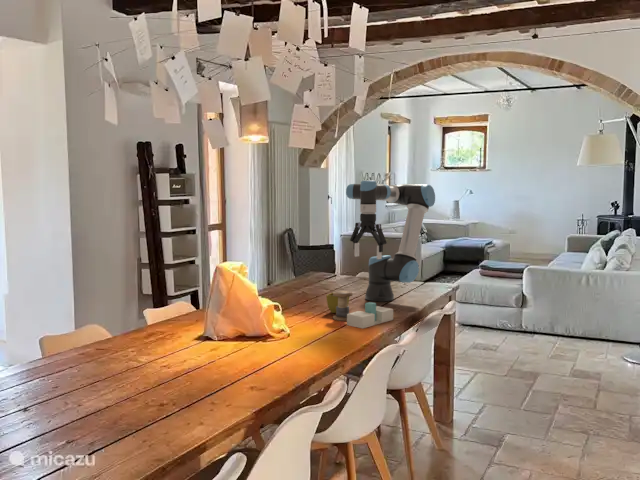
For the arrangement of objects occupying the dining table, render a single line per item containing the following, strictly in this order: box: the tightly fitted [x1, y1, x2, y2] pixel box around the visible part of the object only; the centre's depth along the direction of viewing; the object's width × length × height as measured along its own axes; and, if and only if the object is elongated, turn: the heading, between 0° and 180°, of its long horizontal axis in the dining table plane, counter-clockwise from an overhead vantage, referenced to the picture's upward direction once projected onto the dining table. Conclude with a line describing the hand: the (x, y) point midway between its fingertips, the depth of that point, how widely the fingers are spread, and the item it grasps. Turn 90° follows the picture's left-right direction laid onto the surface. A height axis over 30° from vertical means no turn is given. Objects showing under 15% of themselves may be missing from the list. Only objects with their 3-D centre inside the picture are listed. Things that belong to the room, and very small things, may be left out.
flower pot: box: [326, 292, 350, 314], centre depth 301 cm, size 9×9×9 cm
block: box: [364, 301, 377, 321], centre depth 281 cm, size 4×4×8 cm
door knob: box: [332, 290, 353, 322], centre depth 288 cm, size 9×9×12 cm
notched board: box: [346, 305, 394, 329], centre depth 281 cm, size 22×9×5 cm, turn 137°
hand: (367, 257), depth 298 cm, fingers open, 13 cm apart
